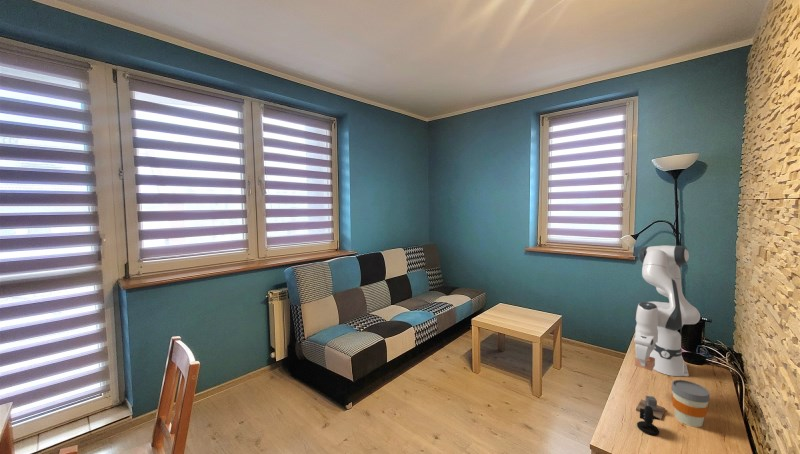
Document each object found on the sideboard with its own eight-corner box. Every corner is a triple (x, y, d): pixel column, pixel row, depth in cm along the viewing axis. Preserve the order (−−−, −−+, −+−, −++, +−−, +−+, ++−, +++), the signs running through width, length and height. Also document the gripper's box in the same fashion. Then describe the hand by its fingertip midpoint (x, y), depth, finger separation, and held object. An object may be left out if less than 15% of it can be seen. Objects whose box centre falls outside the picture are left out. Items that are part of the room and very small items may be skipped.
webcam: (637, 420, 139) (638, 399, 139) (659, 428, 135) (660, 405, 134) (636, 430, 133) (637, 408, 133) (659, 438, 129) (660, 415, 128)
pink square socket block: (638, 361, 161) (638, 353, 161) (654, 365, 156) (655, 358, 156) (635, 365, 157) (635, 357, 156) (651, 370, 152) (652, 362, 152)
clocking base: (641, 401, 153) (641, 389, 152) (665, 410, 146) (665, 397, 145) (636, 410, 146) (636, 398, 146) (660, 420, 139) (661, 407, 139)
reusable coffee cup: (662, 410, 146) (664, 379, 145) (690, 410, 145) (692, 379, 144) (686, 430, 133) (688, 396, 132) (716, 430, 133) (719, 396, 132)
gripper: (643, 328, 164) (642, 353, 165) (633, 340, 151) (632, 367, 152) (659, 331, 160) (657, 357, 161) (649, 344, 146) (648, 372, 147)
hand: (645, 362), depth 156 cm, fingers closed on pink square socket block, 7 cm apart
